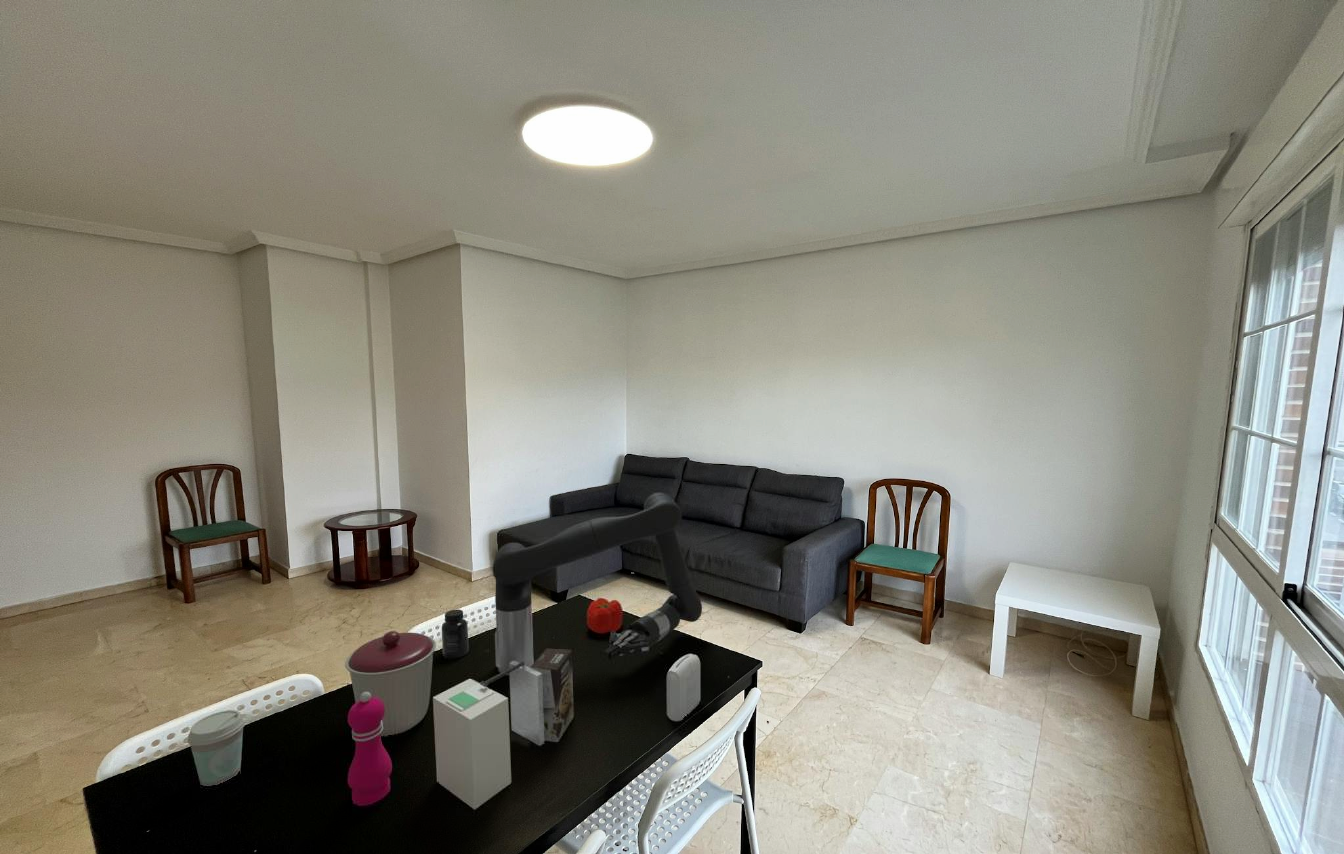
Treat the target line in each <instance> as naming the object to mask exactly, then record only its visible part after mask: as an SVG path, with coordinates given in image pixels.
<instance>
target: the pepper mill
mask: <svg viewBox="0 0 1344 854" xmlns="http://www.w3.org/2000/svg"><path fill="white" fill-rule="evenodd" d="M384 715H385V706H384V703H383V702H382V701H381V700H380V699H378V698H376V697H371V694H370V693H369V692H364V693H362V694H361V696H360V700H359V701H358V702H356V701H355V703H354V704H353V705H352V706H351V707H350V709H349V711H348V714H347V723H348V725H349V727H350V728H351V734H352V735H351V737H352V740H354V741H355V751H354V757H353V759H352V762H351V764H350V766H349V769H348V773H347V784H348V786H349V788H350V789H352V790H351V799H352V800H351V801H353V802H352V804H353V803H354V804H357V805H358V806H365V805H366V806H367V805H369V804H370V805H371V804H373V803H375V802H377V801H379V800H381V799H382V798H384V797H385V796H386V795H387V794H388V795H389V793H390V791H391V779H390V775H391V773H392V772H393V771H392V770H393V764H392V759H391V757H390V755H389V753H388V752H387V750H386V748H385V747H384V745H383V743H382V738H381V737H382V736H381V732H382V730H383V726H382V725H383V722H382V719H383V717H384ZM388 792H389V793H388ZM388 795H387V796H388ZM387 796H386V797H387ZM386 797H385V798H386ZM385 798H384V799H385ZM354 804H353V805H354ZM371 806H372V805H371ZM367 807H368V806H367Z"/></svg>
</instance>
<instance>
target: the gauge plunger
mask: <svg viewBox="0 0 1344 854" xmlns="http://www.w3.org/2000/svg"><path fill="white" fill-rule="evenodd" d="M508 673H510V675H509V695H510V717H511V718H510V721H511V722H510V723H511V731H513V732H514V733H516V734H518V735H520V736H521V737H523V738H525V739H527V741H530V742H532V743H534V744H535V745H537V746H539V747H540V746H543V744H545V740H544V716H543V686H542V673H540V672H538V671H536V670H534V669H531V668H529V667H527V666H526V664H525V663H524V662H521V663H518V662H516V661H512V662H510V663H509V669H507V670H506V671H504V672H502V673H500V672H499V674H496V675H494V676H492V677H491V678H488V679H487V680H485V681H484V680H482V681H480V682H479V683H480V685H482V686H484V687H487V688H488V686H489V684H491V683H493V682H495V681H497V680H498V679H500V678H502V677H505V676H507V675H506V674H508Z"/></svg>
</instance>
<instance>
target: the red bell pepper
mask: <svg viewBox="0 0 1344 854" xmlns="http://www.w3.org/2000/svg"><path fill="white" fill-rule="evenodd" d="M586 612H587V613H586V621H587V627H588V628H589V630H591V631H593V632H594V633H597V634H607V633H611V632H612V631H615V633H616V632H617V631H619V629H621V626H622V624H623V615H624V613H623V607H622V604H621V603H620V602H619V601H618V600H617V599H613V600H611V601H609V600H608V599H606V598H603V597H599V598H597V599H596V600H593V601H592V602H590V605H589V606H588V608H587V611H586Z"/></svg>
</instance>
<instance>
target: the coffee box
mask: <svg viewBox="0 0 1344 854" xmlns="http://www.w3.org/2000/svg"><path fill="white" fill-rule="evenodd" d="M533 662H534V663H533V664H532V666H531V667H530V668H531V669H534V670H536V671H538V672H540V673H542V686H543V716H544V742H545V741H547V742H553V743H558V742H559V741H560V740H561V738H562V737H563V735H564V733H565V731H566V730H567V729H568V727H569V725H571V724H570V723H572V720H573V719H574V716H575V713H574V688H573V687H574V685H573V684H574V681H573V650H572V649H564V648H563V649H562V648H546V649H545V650H544V651H543V652H542V653H541V654H540V656H539V657H538V658H537V659H536V660H535V661H533Z"/></svg>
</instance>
